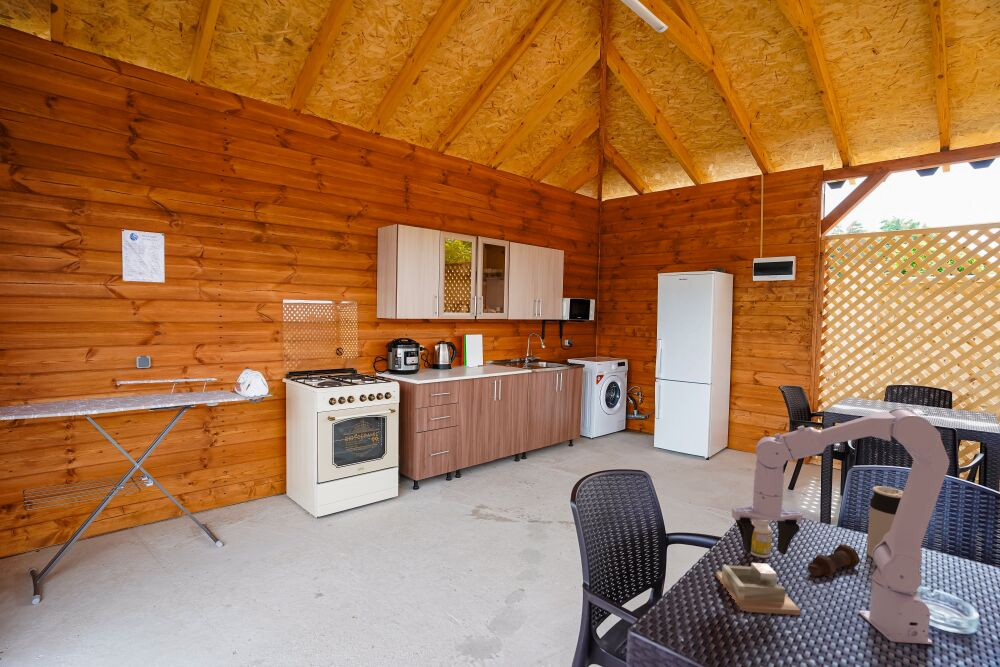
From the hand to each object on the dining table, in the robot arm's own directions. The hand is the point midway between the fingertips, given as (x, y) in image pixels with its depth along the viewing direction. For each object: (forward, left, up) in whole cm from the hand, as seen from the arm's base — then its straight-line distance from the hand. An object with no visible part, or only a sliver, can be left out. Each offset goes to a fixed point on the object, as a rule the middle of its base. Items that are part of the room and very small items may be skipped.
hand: (764, 551), depth 112 cm
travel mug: (+20, -41, -10) cm, 47 cm away
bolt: (+12, -22, -10) cm, 27 cm away
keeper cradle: (-1, +2, -10) cm, 10 cm away
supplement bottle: (+19, -8, -10) cm, 23 cm away
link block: (-1, 0, -8) cm, 9 cm away
